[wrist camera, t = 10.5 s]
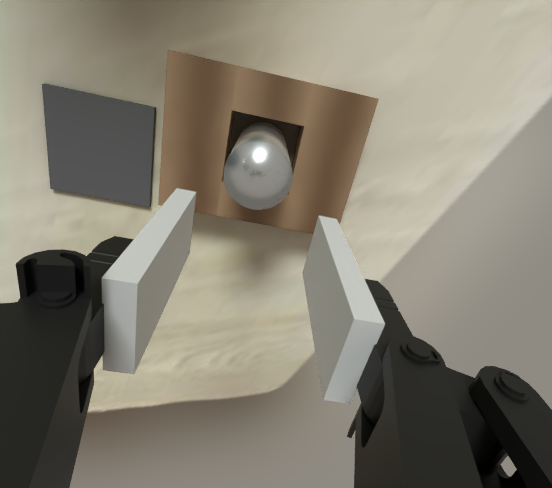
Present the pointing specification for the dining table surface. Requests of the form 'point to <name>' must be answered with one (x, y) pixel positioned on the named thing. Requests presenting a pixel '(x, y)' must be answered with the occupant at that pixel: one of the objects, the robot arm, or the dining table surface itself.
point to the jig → (269, 104)
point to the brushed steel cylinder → (259, 167)
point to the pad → (99, 145)
